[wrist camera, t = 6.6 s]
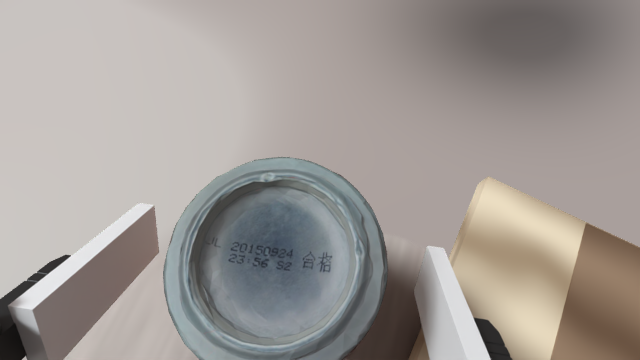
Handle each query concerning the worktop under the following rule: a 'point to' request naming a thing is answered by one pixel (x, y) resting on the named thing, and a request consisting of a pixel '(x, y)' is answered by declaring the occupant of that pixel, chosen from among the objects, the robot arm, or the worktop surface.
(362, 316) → the soda can
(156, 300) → the worktop surface
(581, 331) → the board
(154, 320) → the worktop surface
